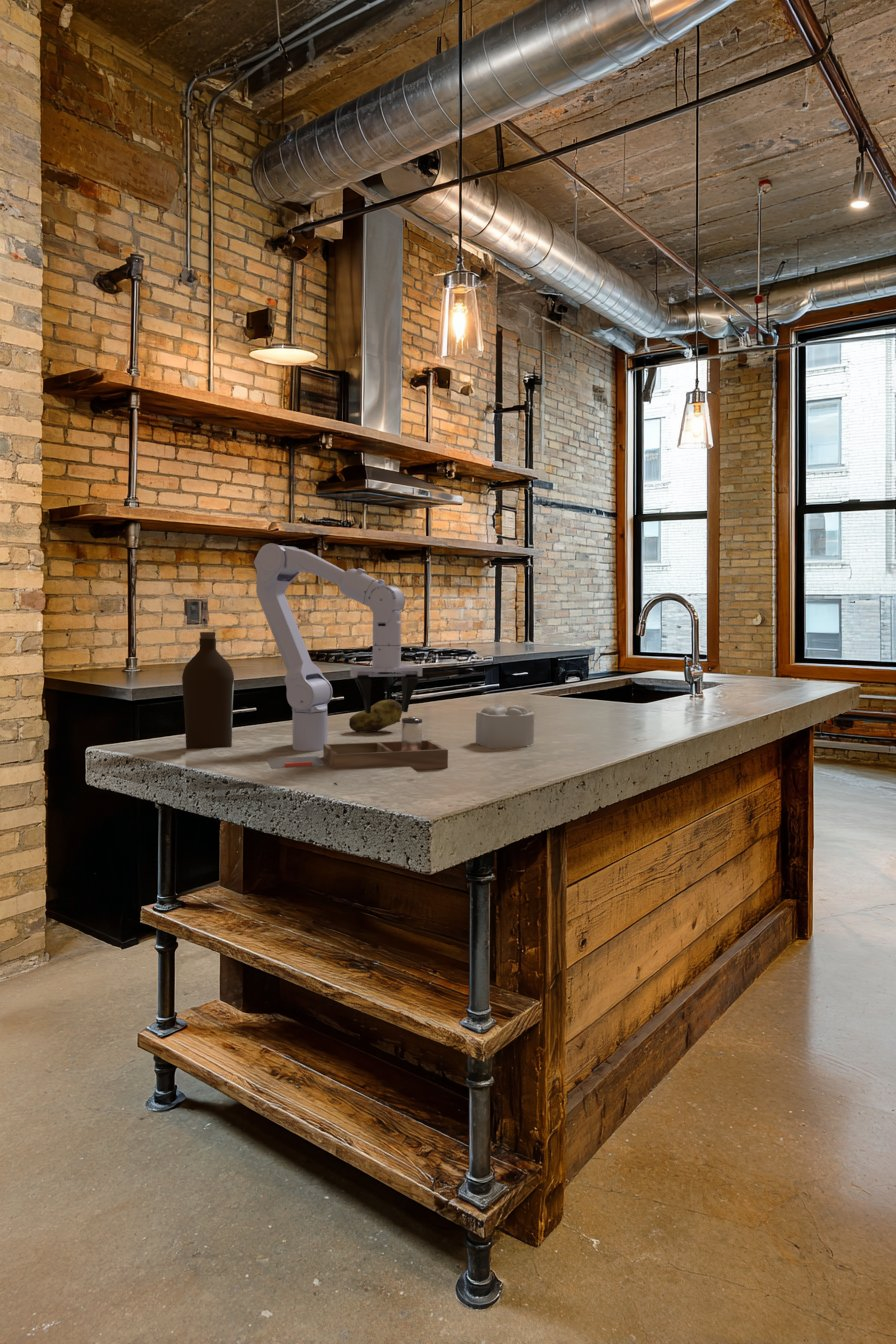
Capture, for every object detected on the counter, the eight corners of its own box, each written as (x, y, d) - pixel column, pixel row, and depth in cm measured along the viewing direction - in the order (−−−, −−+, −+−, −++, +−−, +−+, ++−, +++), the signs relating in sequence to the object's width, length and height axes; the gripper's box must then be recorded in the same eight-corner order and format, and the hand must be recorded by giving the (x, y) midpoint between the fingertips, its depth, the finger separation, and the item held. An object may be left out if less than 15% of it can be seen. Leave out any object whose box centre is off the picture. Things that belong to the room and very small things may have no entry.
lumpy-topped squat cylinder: (471, 742, 192) (471, 704, 191) (521, 739, 197) (522, 702, 196) (490, 749, 182) (491, 710, 182) (543, 746, 187) (543, 707, 187)
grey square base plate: (266, 763, 163) (266, 755, 163) (317, 761, 166) (317, 753, 166) (271, 773, 153) (271, 765, 153) (326, 770, 156) (326, 762, 156)
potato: (351, 729, 209) (351, 697, 209) (403, 729, 209) (403, 697, 209) (348, 734, 201) (348, 701, 200) (401, 734, 201) (401, 701, 200)
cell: (398, 755, 166) (399, 715, 165) (417, 755, 167) (418, 715, 166) (404, 759, 162) (405, 718, 161) (423, 758, 163) (424, 718, 162)
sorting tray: (323, 761, 165) (323, 744, 165) (429, 756, 172) (429, 740, 172) (334, 773, 154) (334, 754, 154) (447, 767, 161) (447, 749, 160)
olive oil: (195, 754, 171) (193, 633, 169) (175, 747, 179) (173, 631, 177) (243, 749, 178) (242, 632, 176) (222, 743, 186) (220, 631, 184)
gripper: (355, 646, 162) (355, 715, 163) (426, 646, 167) (426, 713, 168) (348, 644, 169) (348, 711, 170) (417, 644, 173) (416, 709, 175)
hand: (386, 712), depth 169 cm, fingers open, 7 cm apart
